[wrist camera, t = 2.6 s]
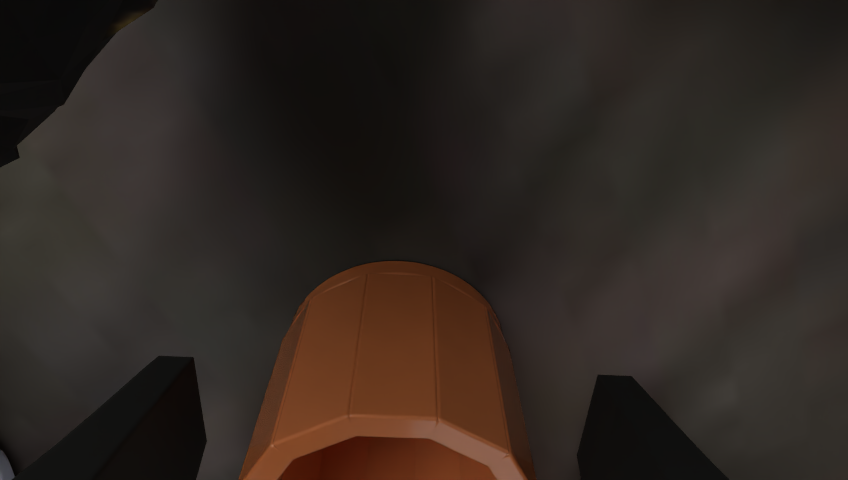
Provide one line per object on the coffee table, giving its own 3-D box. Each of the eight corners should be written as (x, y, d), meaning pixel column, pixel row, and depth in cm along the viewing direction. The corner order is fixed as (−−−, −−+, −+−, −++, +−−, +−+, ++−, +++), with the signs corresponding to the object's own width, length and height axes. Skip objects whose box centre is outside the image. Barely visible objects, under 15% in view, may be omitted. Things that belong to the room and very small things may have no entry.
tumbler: (292, 425, 13) (248, 610, 10) (283, 253, 11) (220, 410, 8) (491, 432, 13) (516, 616, 10) (517, 264, 11) (561, 423, 8)
